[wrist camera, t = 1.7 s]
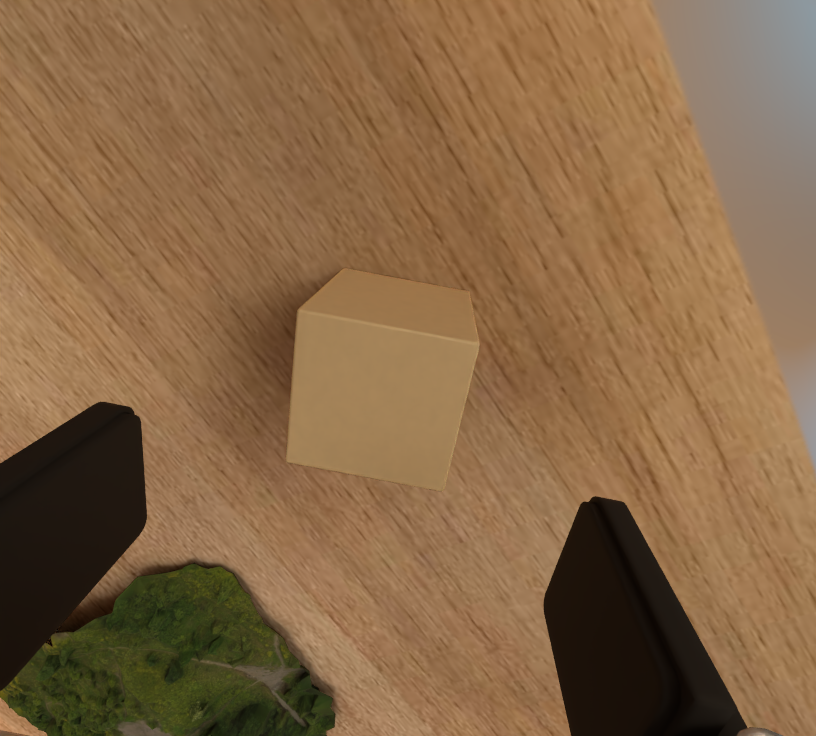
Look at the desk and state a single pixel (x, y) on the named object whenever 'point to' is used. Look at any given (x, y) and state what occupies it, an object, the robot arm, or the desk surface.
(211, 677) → the landscape model
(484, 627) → the desk surface
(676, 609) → the robot arm
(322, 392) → the block
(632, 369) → the desk surface
